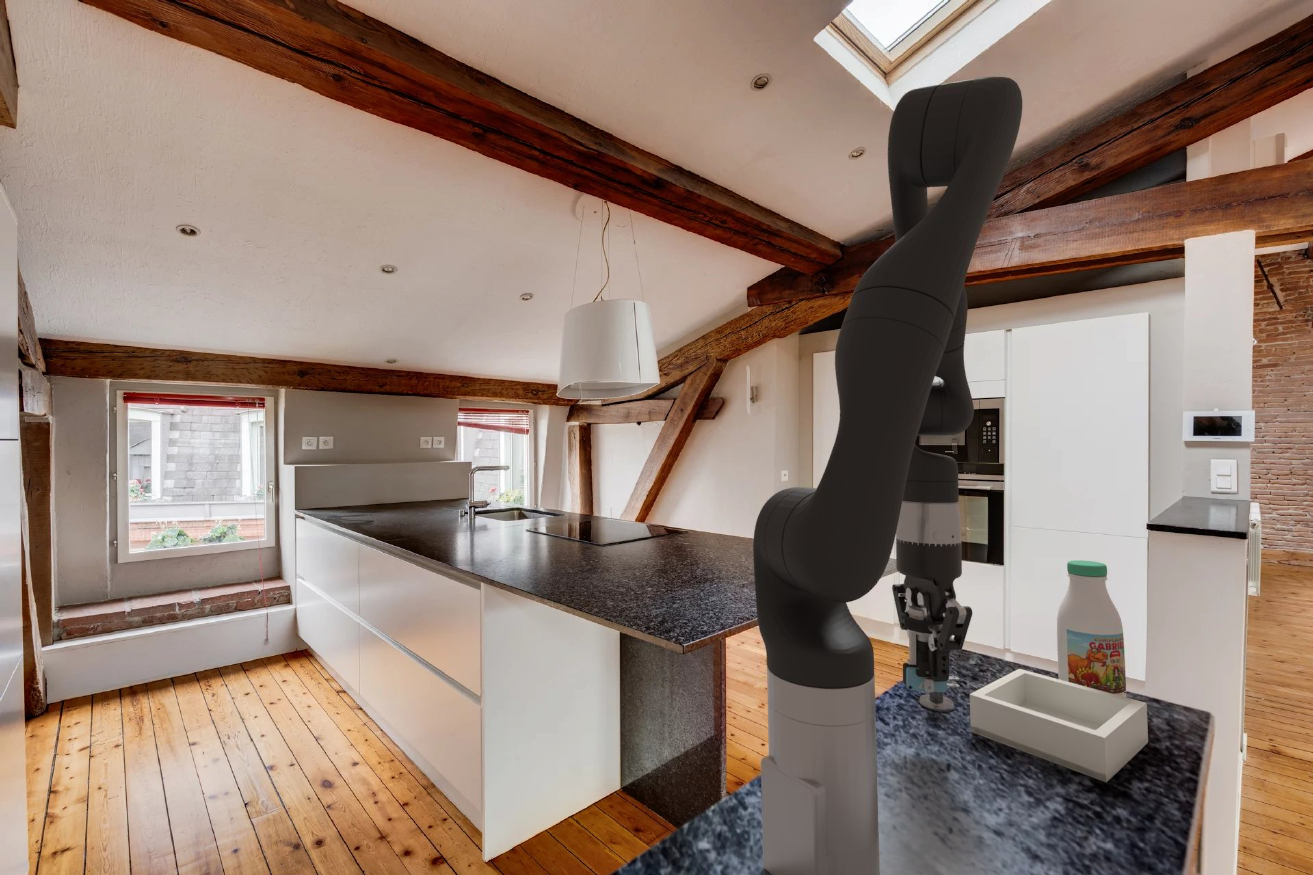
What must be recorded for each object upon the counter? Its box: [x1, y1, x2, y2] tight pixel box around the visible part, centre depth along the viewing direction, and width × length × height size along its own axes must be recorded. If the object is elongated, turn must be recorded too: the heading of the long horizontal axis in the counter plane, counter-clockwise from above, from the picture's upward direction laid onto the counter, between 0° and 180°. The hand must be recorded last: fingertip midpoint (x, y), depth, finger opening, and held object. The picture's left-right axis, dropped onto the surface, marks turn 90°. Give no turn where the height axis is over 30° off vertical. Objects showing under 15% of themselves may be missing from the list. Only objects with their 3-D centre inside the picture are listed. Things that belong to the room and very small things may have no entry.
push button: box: [901, 606, 960, 693], centre depth 72 cm, size 7×5×10 cm
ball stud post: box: [919, 692, 955, 713], centre depth 82 cm, size 4×4×8 cm
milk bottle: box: [1056, 559, 1127, 698], centre depth 82 cm, size 8×8×20 cm
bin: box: [969, 668, 1149, 784], centre depth 72 cm, size 14×14×5 cm
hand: (929, 673), depth 72 cm, fingers closed on push button, 3 cm apart
